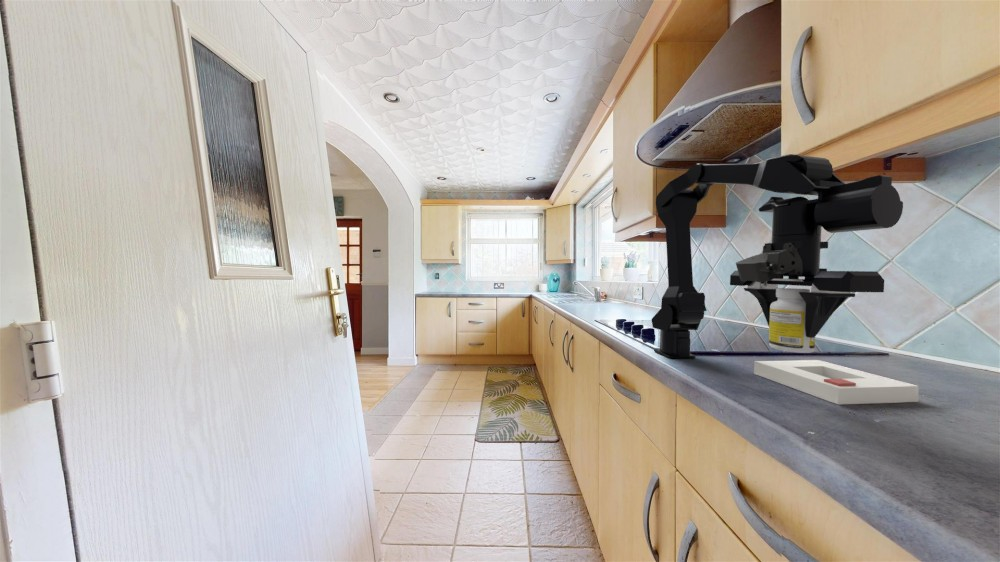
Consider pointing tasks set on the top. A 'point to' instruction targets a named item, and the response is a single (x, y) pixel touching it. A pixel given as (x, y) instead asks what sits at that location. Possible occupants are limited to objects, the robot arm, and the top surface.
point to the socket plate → (836, 382)
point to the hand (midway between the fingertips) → (790, 333)
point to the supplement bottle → (789, 322)
